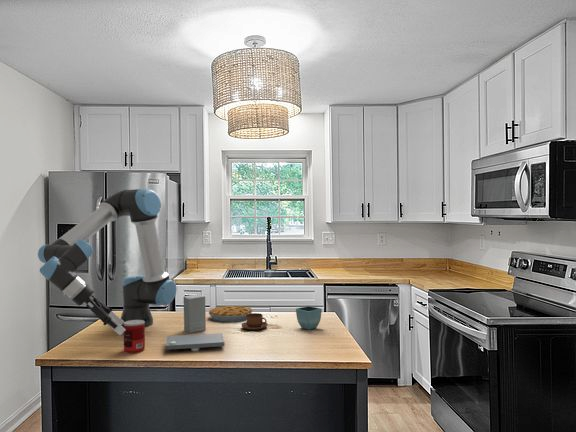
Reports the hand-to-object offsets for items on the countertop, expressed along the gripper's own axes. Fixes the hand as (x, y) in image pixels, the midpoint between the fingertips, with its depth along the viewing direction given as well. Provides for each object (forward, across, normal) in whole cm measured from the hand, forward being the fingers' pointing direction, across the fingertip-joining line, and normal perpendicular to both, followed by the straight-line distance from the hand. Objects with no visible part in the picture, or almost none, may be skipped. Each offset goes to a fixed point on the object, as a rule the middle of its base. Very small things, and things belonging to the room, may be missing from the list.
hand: (122, 328), depth 179 cm
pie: (+44, -42, +31) cm, 68 cm away
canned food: (+10, -1, -3) cm, 10 cm away
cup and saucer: (+47, -17, +34) cm, 61 cm away
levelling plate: (+25, +3, +13) cm, 29 cm away
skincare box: (+29, -23, +16) cm, 40 cm away
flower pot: (+63, -7, +51) cm, 81 cm away
